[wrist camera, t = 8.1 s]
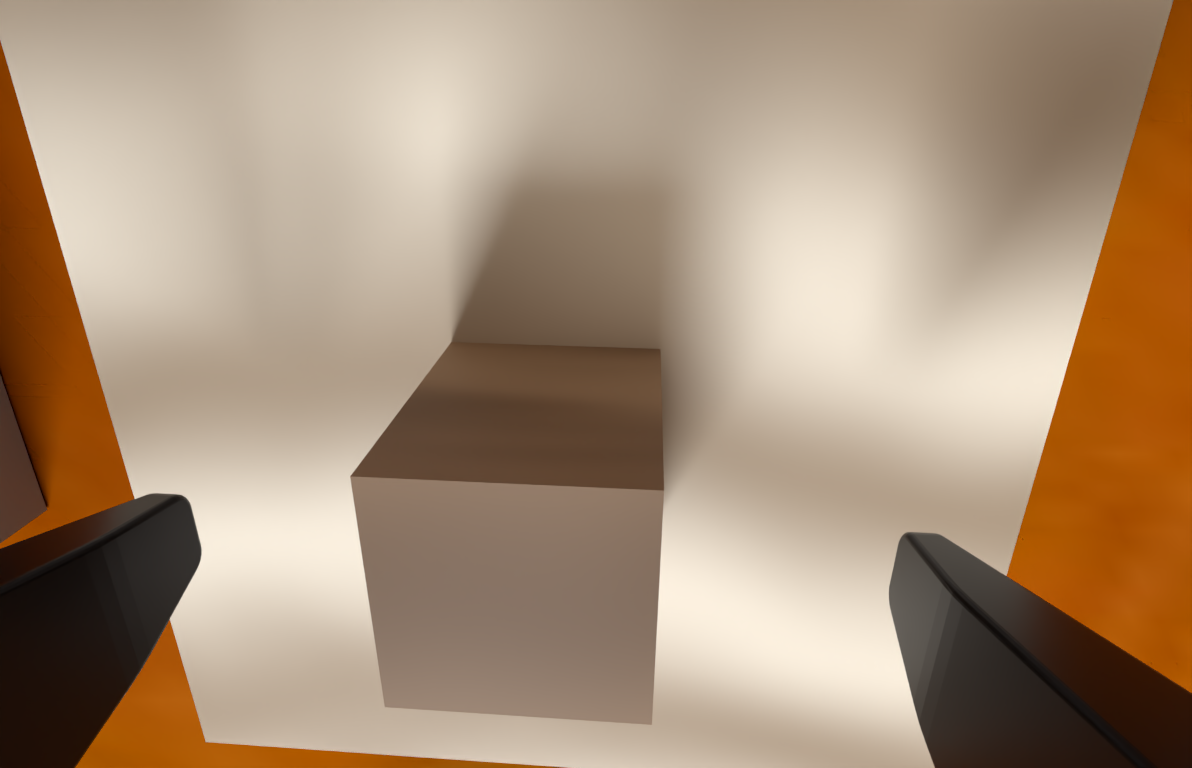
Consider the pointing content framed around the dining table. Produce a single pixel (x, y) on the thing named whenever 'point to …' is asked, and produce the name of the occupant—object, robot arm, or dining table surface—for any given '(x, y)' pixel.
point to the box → (15, 475)
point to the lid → (577, 343)
